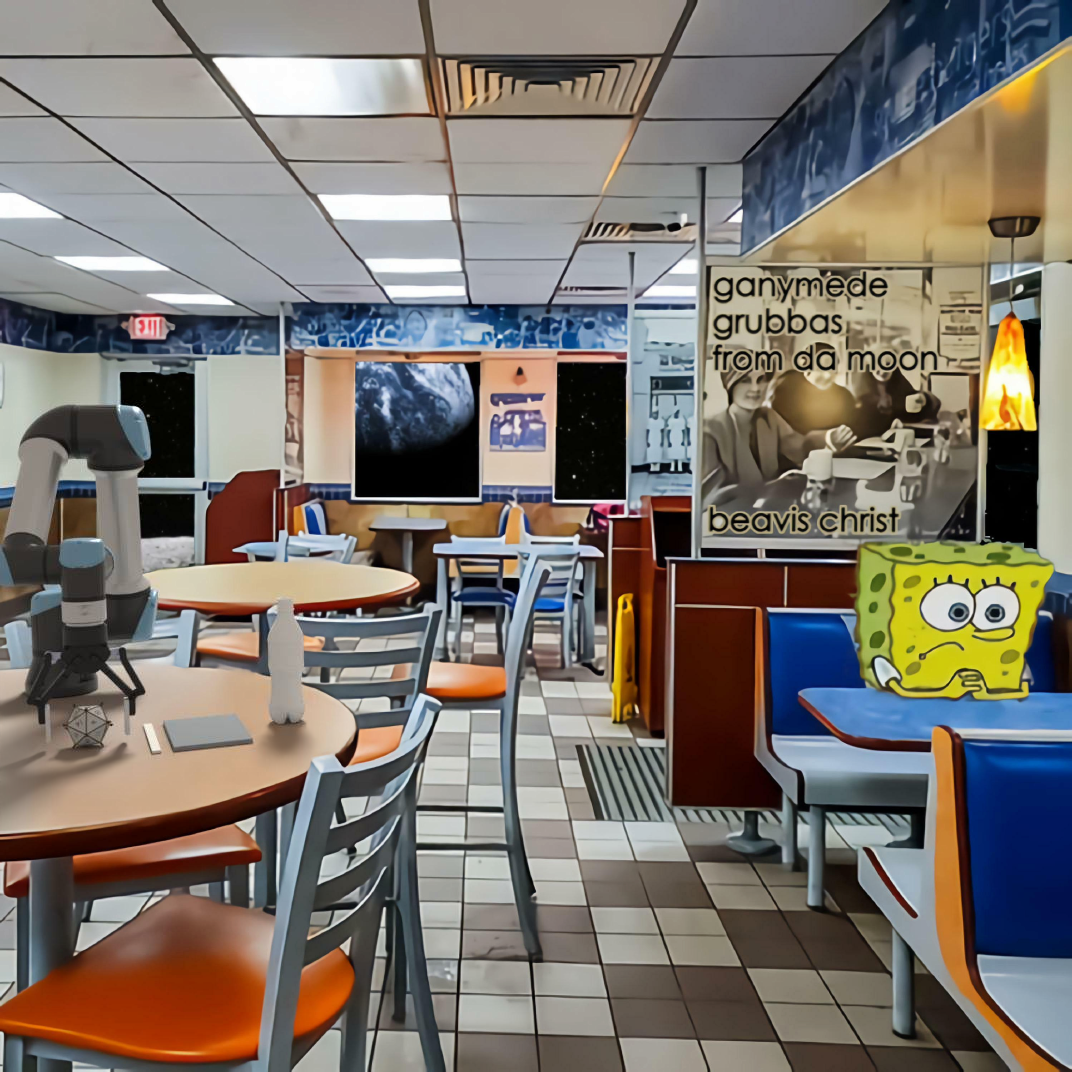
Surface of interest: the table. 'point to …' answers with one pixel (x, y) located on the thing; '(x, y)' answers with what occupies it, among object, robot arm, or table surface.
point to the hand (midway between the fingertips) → (88, 737)
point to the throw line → (152, 738)
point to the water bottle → (286, 665)
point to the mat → (206, 732)
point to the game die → (87, 725)
